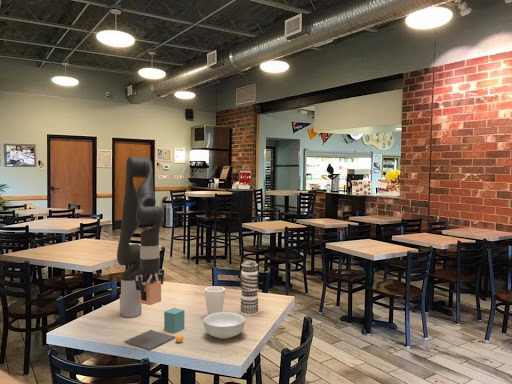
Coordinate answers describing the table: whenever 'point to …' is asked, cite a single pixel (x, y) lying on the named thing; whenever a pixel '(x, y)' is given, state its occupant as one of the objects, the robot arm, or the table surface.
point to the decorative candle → (249, 288)
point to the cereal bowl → (224, 324)
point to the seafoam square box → (174, 320)
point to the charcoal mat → (150, 339)
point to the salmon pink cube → (152, 293)
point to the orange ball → (179, 338)
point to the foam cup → (214, 299)
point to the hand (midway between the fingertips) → (150, 298)
